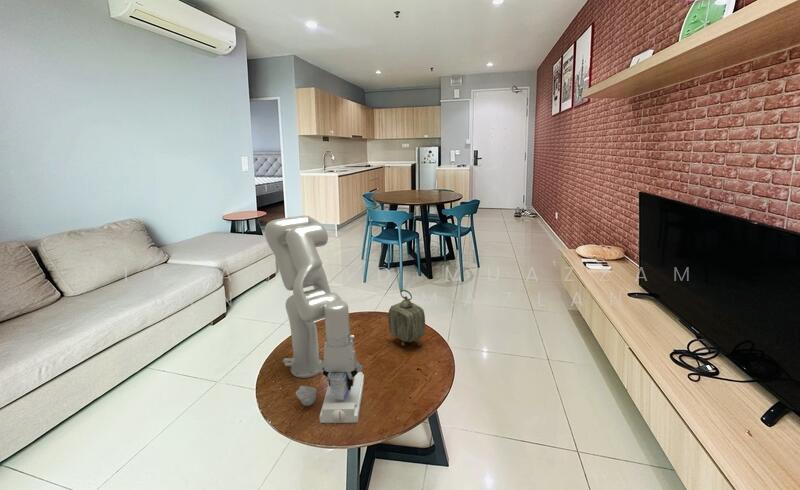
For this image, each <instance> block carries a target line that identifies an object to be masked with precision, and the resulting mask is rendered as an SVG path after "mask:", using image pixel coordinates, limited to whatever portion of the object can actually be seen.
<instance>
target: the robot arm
mask: <svg viewBox="0 0 800 490" xmlns="http://www.w3.org/2000/svg"><path fill="white" fill-rule="evenodd" d="M264 234H265V239H266V242H267V245H268V246H269V248H270V250H271V251H272V253H273V255H274V257H275V260H276V263H277V266H278V269H279V273H280V277H281V280H282V282H283V286H284V288H285V289H286V291H292V295H290V296H289V297H288V298H287V299H286V301H285V310H286V313H287V317H288V322H289V328H290V335H291V345H292V352H293V353H292V355H293V356H292V357H291V358H289V357H288V358H287V357H285V358H283V364H284V366H285V367H290V372H291V375H292V376H295V377H296V378H301V379H302V378H303V379H307V378H311V377H314V376H316V375H318V374H320V373H321V374H322V375H324V376H325V378H327V380H328V385H329V386H330V376H331V374H332V372H347V374H348V390H351V386H353V377H354V376H355V375H356V374H357V373H358V372H362V371H363V368H364V367H363V365H362V364H361V363H360V362H359V361H358V360H357V357H356V348H355V345H354V340H355V335H354V334H351V330H350V314H349V313H350V312H349V305H348V303H347V302H345V301H343V300H342V298H341V296H340V295H339V294H338V293H336V292H331V288H330V285H329V281H328V278H327V274H326V271H325V269H324V267H323V262H322V259H321V257H320V255H319V253H318V250H317V248H319V247H324V246H326V245H327V244H328V241H329V234H328V232H327V229H326V228H325V227H324V225H323V224H322V223H321V222H320V221H318V220H316V219H315V218H313V217H311V216H309V215H297V216H292V217H283V218H278V219H273V220H270V221H269V222H267V223H266V225H265V227H264ZM309 287H313V289H309V290H306V291H305V290H304V289H305V288H309ZM323 319H324V324H325V325H324V326H325V328H324V329H325V338H326V339H325V342H324V345H323V360H322V359H321V358H320V355H319V353H320V352H319V341H318V328H317V324H316V323H315V322H317V321H320V320H323Z"/></svg>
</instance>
